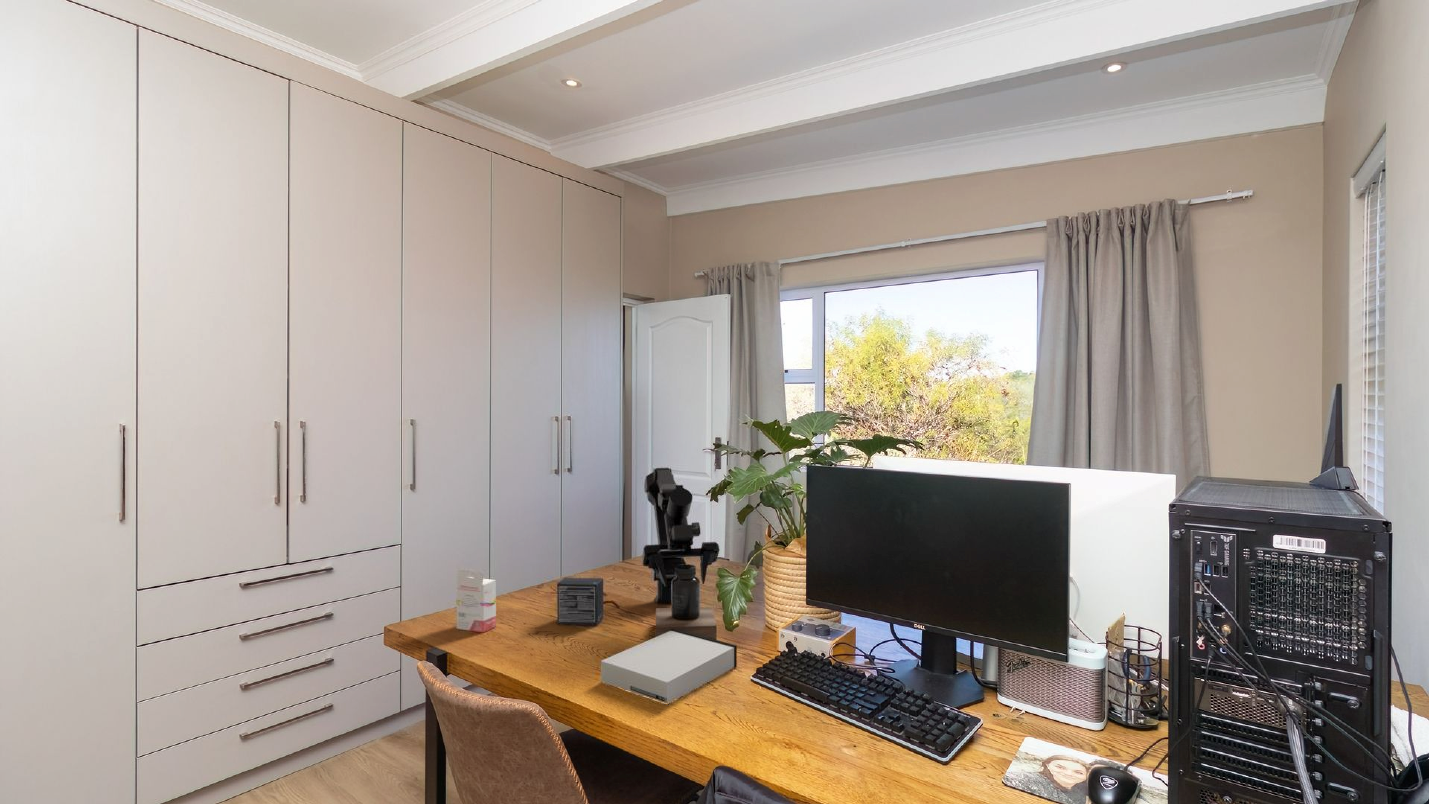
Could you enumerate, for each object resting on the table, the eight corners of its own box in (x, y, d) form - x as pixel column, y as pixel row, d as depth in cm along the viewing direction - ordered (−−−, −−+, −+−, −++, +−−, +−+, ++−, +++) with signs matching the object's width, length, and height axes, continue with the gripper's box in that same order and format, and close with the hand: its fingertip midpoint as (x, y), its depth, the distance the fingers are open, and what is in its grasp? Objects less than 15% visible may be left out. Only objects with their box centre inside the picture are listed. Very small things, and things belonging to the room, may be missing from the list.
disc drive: (737, 668, 142) (737, 644, 142) (668, 708, 124) (668, 680, 124) (672, 650, 153) (672, 628, 153) (600, 684, 134) (600, 659, 134)
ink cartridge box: (497, 627, 167) (497, 567, 167) (483, 633, 162) (483, 572, 162) (469, 622, 170) (469, 564, 170) (455, 628, 166) (455, 568, 166)
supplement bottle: (688, 610, 167) (688, 561, 167) (705, 617, 162) (705, 567, 162) (665, 615, 163) (665, 565, 163) (682, 623, 158) (682, 571, 158)
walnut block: (656, 624, 169) (656, 608, 169) (712, 623, 170) (712, 607, 170) (655, 644, 155) (655, 627, 155) (716, 643, 156) (716, 625, 156)
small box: (604, 618, 174) (604, 577, 174) (597, 626, 168) (597, 584, 168) (564, 616, 175) (564, 576, 175) (556, 625, 169) (556, 583, 169)
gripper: (643, 512, 166) (649, 568, 155) (717, 509, 170) (728, 564, 159) (640, 537, 173) (645, 593, 163) (711, 534, 178) (720, 588, 167)
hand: (684, 584), depth 163 cm, fingers open, 9 cm apart
